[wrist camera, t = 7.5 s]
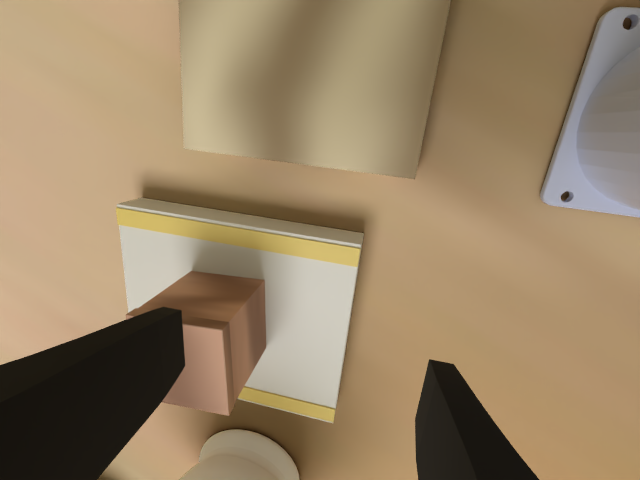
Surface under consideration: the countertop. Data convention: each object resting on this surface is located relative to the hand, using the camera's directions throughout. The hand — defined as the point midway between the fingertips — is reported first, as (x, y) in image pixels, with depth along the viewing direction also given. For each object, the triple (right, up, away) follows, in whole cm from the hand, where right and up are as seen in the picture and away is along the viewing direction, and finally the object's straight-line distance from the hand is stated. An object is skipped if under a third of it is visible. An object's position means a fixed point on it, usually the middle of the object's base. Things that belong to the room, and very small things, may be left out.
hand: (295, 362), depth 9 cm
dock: (-4, -1, +12) cm, 13 cm away
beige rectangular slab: (0, +12, +7) cm, 14 cm away
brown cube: (-5, -1, +10) cm, 11 cm away
